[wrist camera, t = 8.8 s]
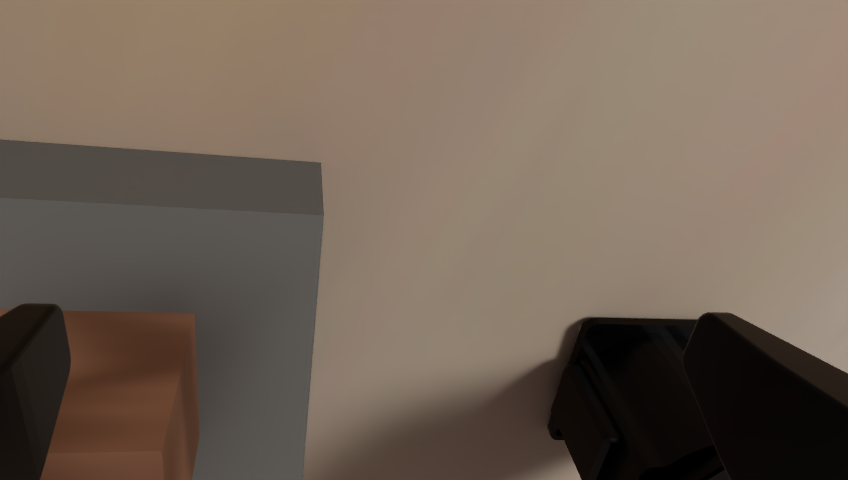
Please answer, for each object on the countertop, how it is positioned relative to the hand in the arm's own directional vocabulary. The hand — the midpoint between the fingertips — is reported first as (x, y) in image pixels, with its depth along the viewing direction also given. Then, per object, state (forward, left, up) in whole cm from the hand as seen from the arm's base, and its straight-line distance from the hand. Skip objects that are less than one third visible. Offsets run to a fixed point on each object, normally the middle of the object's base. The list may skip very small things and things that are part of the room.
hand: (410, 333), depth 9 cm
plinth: (+7, +9, -12) cm, 16 cm away
